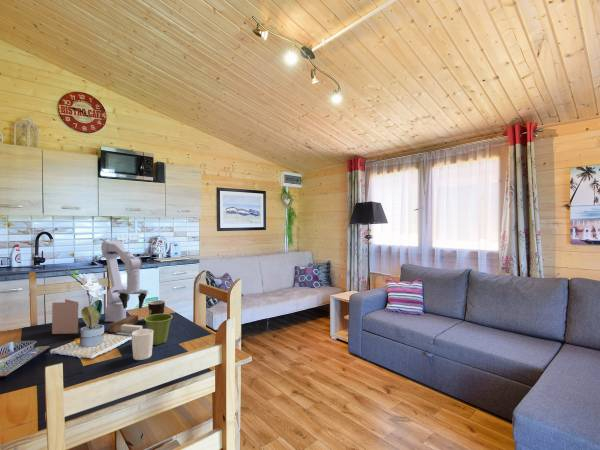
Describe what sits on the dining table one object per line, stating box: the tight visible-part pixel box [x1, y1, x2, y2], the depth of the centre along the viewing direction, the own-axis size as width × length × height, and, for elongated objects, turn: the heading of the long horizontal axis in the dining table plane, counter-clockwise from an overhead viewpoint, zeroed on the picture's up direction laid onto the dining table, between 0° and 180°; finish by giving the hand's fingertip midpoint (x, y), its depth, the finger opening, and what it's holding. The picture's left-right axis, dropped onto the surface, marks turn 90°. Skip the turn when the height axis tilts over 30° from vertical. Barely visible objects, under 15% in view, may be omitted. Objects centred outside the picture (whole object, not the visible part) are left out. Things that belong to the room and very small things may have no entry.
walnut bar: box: [108, 314, 139, 333], centre depth 164 cm, size 4×16×4 cm, turn 169°
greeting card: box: [51, 299, 80, 335], centre depth 154 cm, size 11×7×15 cm, turn 63°
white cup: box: [131, 328, 153, 361], centre depth 129 cm, size 8×8×10 cm
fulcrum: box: [115, 324, 144, 337], centre depth 157 cm, size 10×9×3 cm
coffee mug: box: [147, 299, 166, 316], centre depth 174 cm, size 12×9×10 cm
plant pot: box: [143, 313, 173, 346], centre depth 145 cm, size 12×12×11 cm
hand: (132, 308), depth 165 cm, fingers open, 7 cm apart
